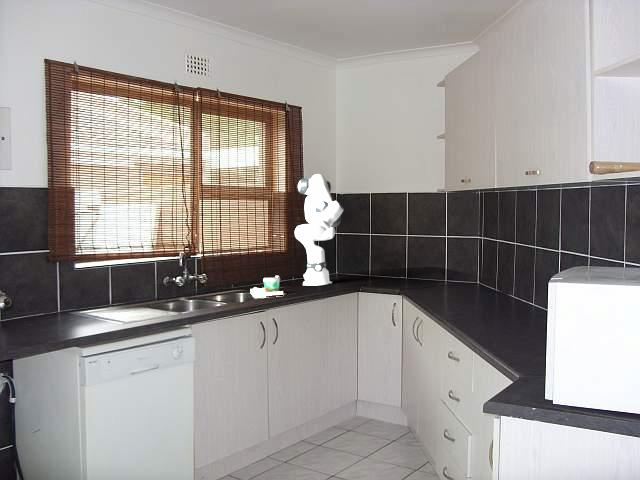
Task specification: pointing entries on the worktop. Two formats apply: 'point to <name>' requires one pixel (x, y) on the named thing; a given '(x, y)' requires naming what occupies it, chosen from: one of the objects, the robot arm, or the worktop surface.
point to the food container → (271, 284)
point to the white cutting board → (263, 293)
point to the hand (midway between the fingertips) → (307, 241)
